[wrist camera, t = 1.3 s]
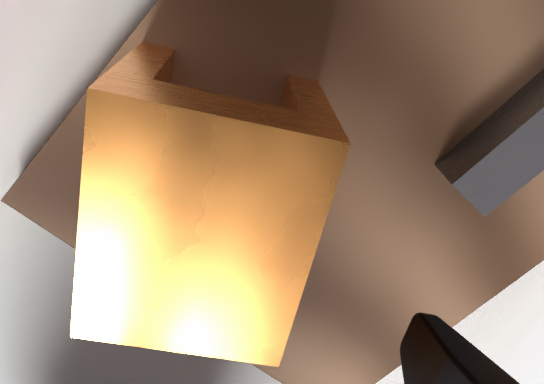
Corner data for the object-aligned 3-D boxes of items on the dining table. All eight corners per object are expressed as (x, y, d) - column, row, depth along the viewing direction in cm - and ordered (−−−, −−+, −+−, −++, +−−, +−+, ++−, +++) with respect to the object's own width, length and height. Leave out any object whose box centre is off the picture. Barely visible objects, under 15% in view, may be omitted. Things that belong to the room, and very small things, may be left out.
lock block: (270, 253, 16) (278, 367, 12) (120, 227, 16) (70, 337, 11) (318, 81, 14) (351, 143, 9) (142, 41, 13) (87, 87, 9)
